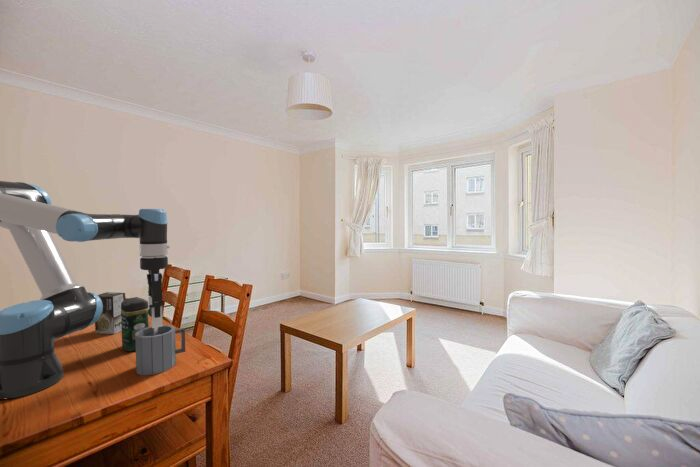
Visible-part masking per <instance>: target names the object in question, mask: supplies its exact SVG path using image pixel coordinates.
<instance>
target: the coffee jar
mask: <svg viewBox="0 0 700 467" xmlns="http://www.w3.org/2000/svg"><path fill="white" fill-rule="evenodd" d="M148 309H149V300H146V299H143V298H141V297H138V296H134V297H129V298H125V300H124V301H123V302H122V303H121V323H122V331H121V345H122V348H123V350H125V351H127V352H134V351H135V352H136V340H135V333H136V332H138V331H139V330H141V329H144V328H147V327H150V326H149V324H150V322H149V314H148Z"/></svg>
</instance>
